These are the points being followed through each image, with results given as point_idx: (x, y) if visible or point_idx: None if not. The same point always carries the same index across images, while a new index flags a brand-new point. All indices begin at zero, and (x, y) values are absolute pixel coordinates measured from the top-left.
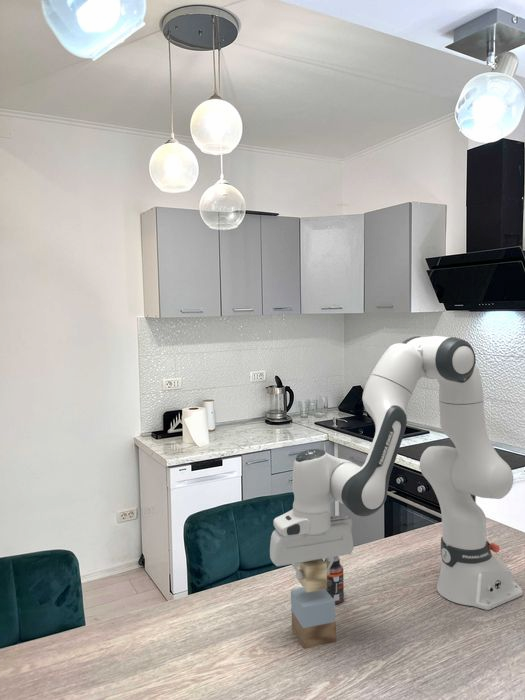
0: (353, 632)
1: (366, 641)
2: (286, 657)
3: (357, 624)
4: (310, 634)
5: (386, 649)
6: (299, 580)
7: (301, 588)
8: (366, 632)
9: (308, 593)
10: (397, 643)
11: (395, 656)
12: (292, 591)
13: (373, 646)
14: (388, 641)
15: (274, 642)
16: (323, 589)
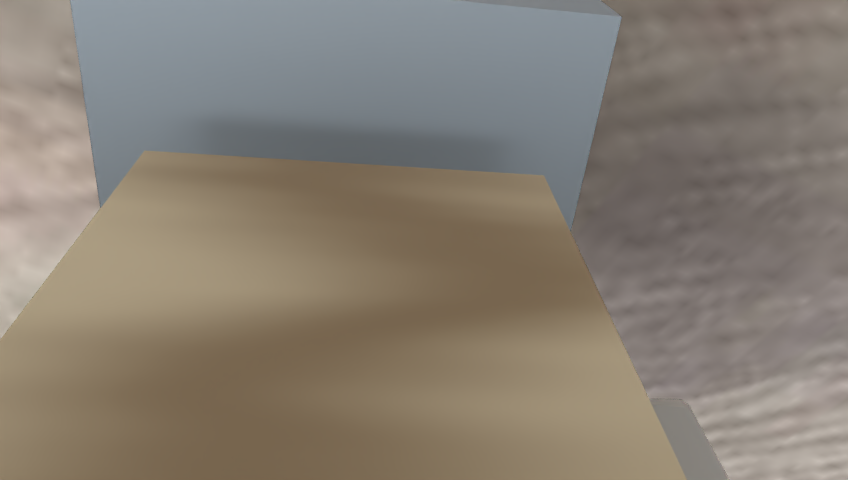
0: (654, 157)
1: (657, 266)
2: (80, 212)
3: (752, 84)
4: None
5: (701, 360)
6: (133, 177)
7: (260, 2)
8: (730, 191)
9: None
10: (797, 342)
11: (695, 414)
12: (82, 27)
13: (658, 317)
14: (770, 312)
15: (18, 22)
16: (558, 166)
